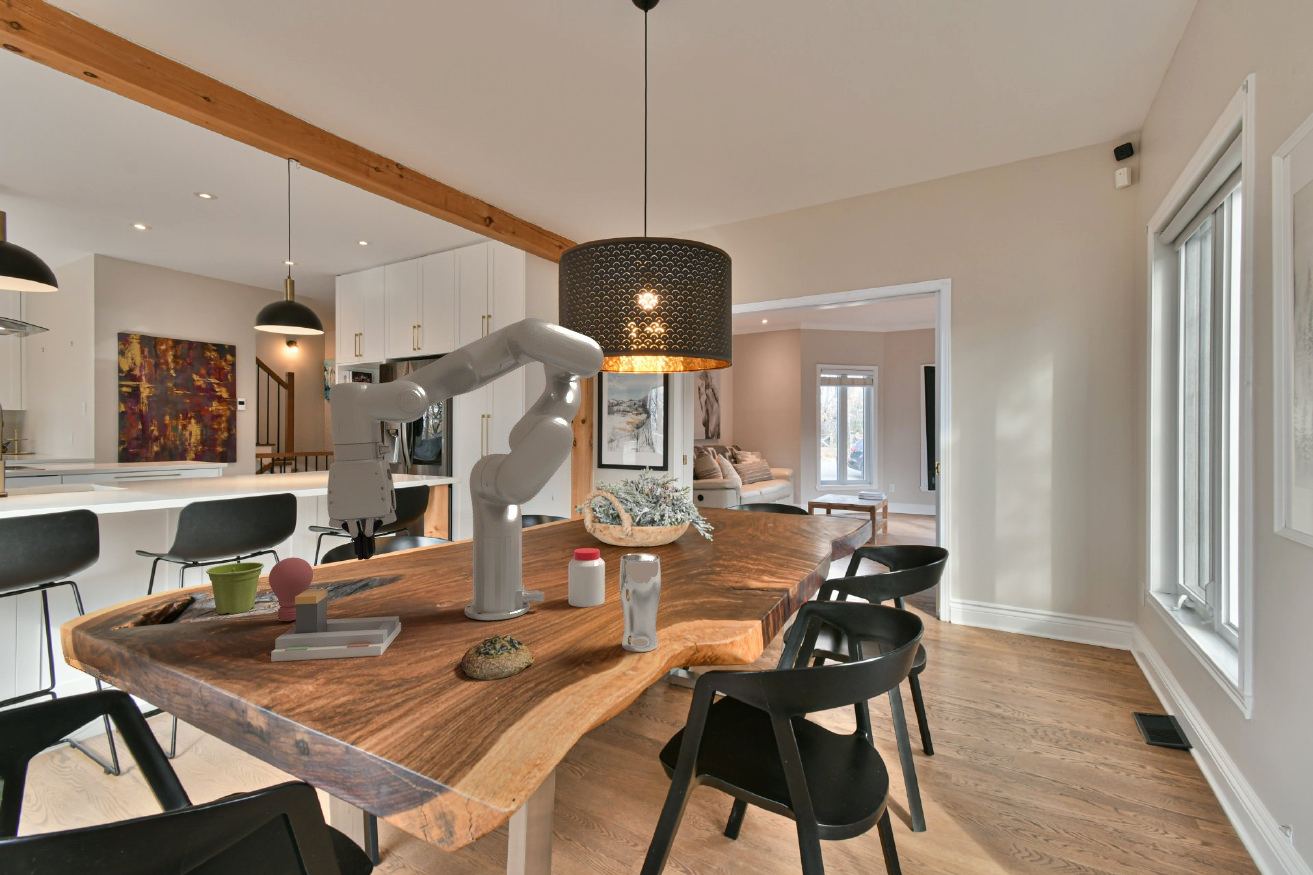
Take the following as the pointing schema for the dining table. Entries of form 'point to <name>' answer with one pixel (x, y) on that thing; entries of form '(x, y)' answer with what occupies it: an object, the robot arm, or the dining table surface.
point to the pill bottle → (586, 578)
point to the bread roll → (496, 658)
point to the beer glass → (640, 600)
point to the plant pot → (235, 586)
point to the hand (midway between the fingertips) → (365, 557)
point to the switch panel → (334, 651)
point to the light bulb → (289, 584)
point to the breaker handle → (311, 611)
